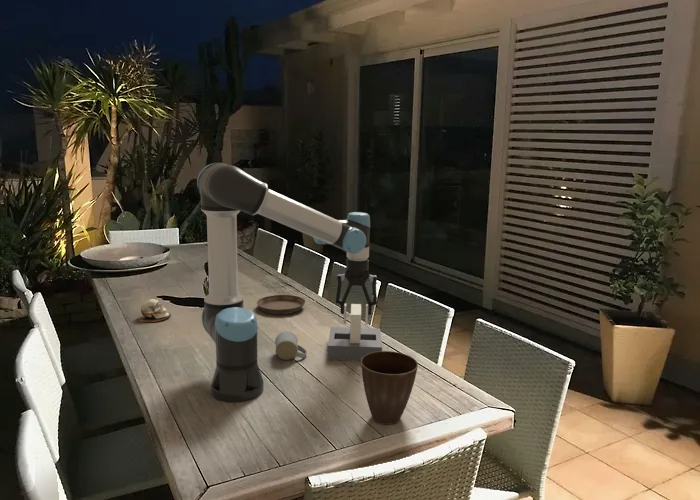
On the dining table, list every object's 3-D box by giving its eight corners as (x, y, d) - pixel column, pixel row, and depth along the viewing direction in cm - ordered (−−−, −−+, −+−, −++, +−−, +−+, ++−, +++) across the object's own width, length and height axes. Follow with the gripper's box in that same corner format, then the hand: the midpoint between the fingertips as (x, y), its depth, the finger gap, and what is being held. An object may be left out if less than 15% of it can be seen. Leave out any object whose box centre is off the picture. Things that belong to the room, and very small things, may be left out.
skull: (175, 310, 227) (169, 297, 218) (169, 333, 221) (162, 320, 212) (147, 308, 227) (139, 295, 219) (139, 330, 221) (131, 318, 213)
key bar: (360, 343, 186) (361, 315, 184) (349, 343, 186) (350, 314, 184) (360, 330, 198) (361, 304, 196) (350, 330, 198) (351, 303, 196)
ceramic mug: (275, 361, 181) (276, 339, 180) (275, 352, 189) (275, 330, 188) (307, 361, 183) (308, 339, 182) (305, 351, 191) (306, 330, 189)
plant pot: (410, 404, 155) (413, 351, 152) (418, 432, 141) (422, 374, 137) (357, 403, 155) (359, 350, 151) (360, 432, 140) (362, 373, 137)
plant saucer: (248, 313, 229) (248, 305, 228) (267, 299, 248) (267, 292, 248) (296, 318, 224) (296, 311, 223) (311, 304, 244) (311, 296, 243)
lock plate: (381, 361, 184) (382, 347, 183) (327, 359, 184) (327, 345, 183) (379, 341, 202) (380, 328, 201) (330, 339, 202) (330, 326, 201)
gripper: (386, 256, 190) (383, 320, 194) (329, 255, 190) (327, 318, 195) (387, 261, 182) (384, 327, 187) (327, 260, 182) (326, 325, 187)
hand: (355, 322), depth 191 cm, fingers open, 7 cm apart
